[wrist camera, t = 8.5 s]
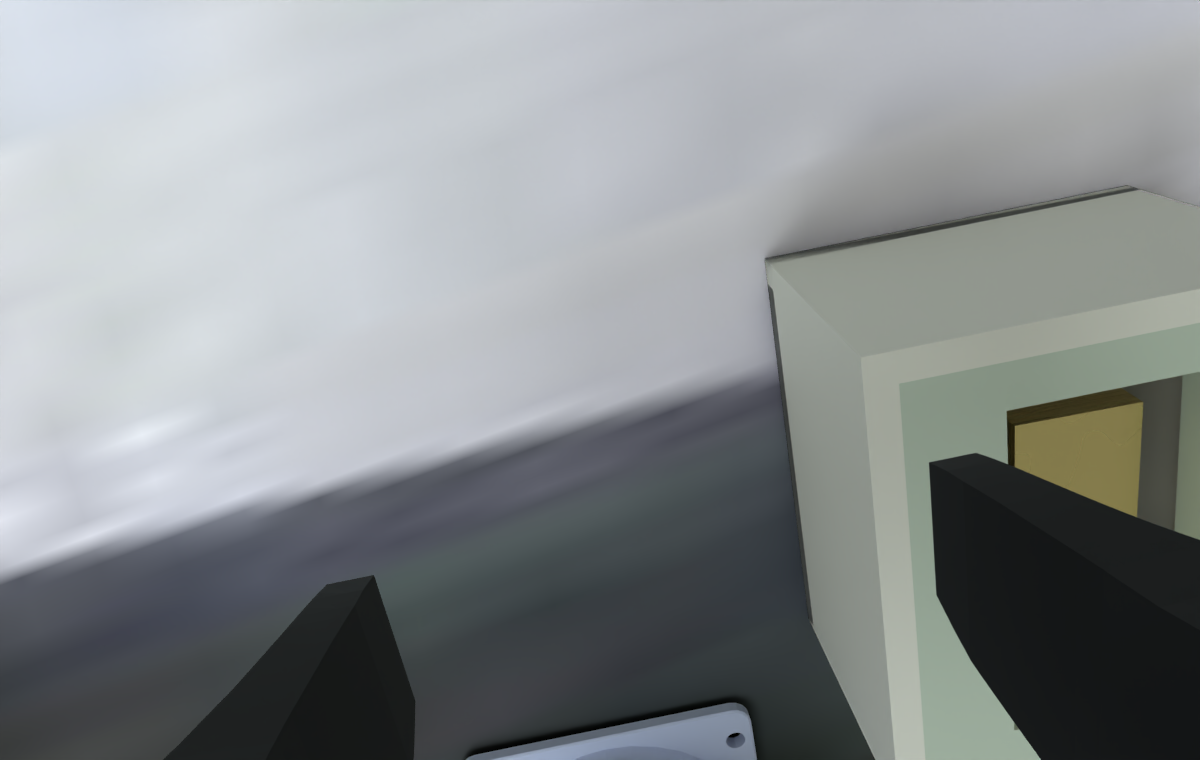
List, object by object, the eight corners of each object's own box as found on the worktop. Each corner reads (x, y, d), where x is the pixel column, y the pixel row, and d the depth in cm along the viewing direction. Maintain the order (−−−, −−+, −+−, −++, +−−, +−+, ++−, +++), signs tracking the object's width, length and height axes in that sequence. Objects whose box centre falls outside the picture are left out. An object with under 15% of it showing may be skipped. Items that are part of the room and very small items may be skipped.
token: (1011, 504, 24) (1131, 625, 19) (918, 522, 24) (1014, 647, 19) (1011, 318, 22) (1143, 401, 17) (909, 336, 22) (1014, 426, 17)
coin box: (1116, 555, 25) (1304, 728, 19) (808, 618, 25) (899, 811, 19) (1127, 185, 22) (1363, 255, 16) (764, 258, 21) (860, 357, 15)
